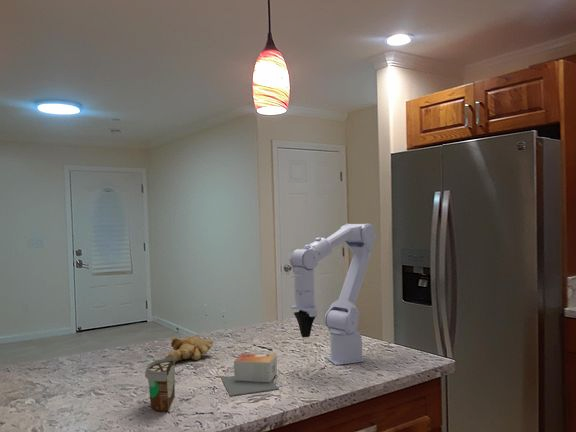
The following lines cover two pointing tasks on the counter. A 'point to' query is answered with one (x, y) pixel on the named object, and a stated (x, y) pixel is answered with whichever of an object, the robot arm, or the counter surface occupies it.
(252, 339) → the counter surface
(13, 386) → the counter surface
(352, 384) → the counter surface
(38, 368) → the counter surface
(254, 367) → the small box
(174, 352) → the ginger root
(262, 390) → the mat
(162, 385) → the food container
